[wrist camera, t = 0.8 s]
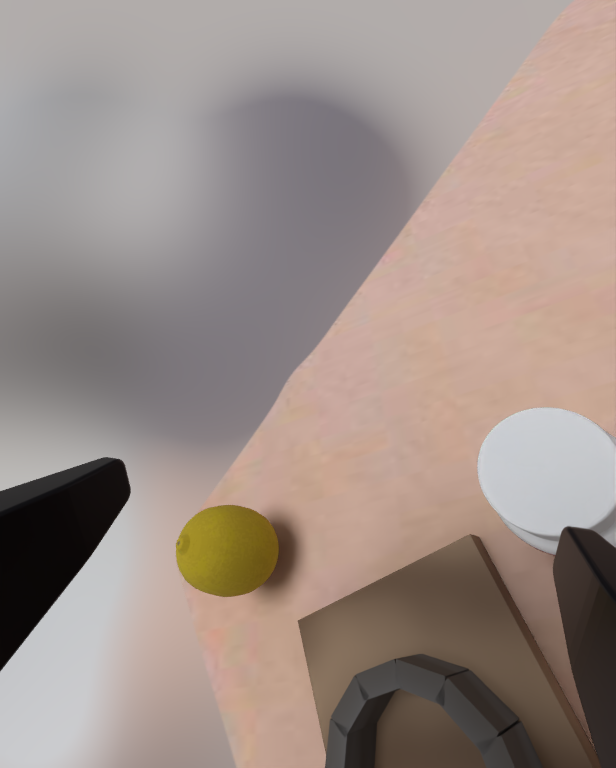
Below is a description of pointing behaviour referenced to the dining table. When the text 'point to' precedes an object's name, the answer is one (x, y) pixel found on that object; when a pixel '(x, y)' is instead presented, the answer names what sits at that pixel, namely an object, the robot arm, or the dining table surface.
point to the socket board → (448, 629)
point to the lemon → (227, 550)
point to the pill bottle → (550, 475)
